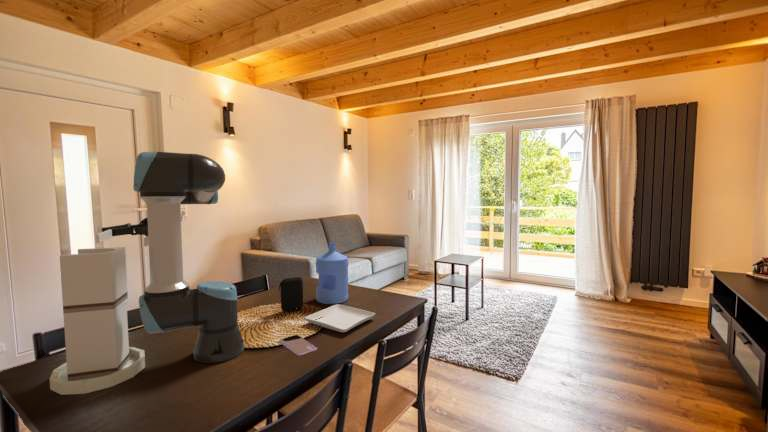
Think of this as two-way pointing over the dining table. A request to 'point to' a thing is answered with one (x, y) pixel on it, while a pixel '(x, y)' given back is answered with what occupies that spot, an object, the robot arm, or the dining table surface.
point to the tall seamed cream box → (95, 312)
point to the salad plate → (340, 317)
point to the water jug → (332, 277)
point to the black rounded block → (291, 294)
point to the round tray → (65, 387)
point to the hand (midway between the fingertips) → (121, 240)
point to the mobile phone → (297, 345)
